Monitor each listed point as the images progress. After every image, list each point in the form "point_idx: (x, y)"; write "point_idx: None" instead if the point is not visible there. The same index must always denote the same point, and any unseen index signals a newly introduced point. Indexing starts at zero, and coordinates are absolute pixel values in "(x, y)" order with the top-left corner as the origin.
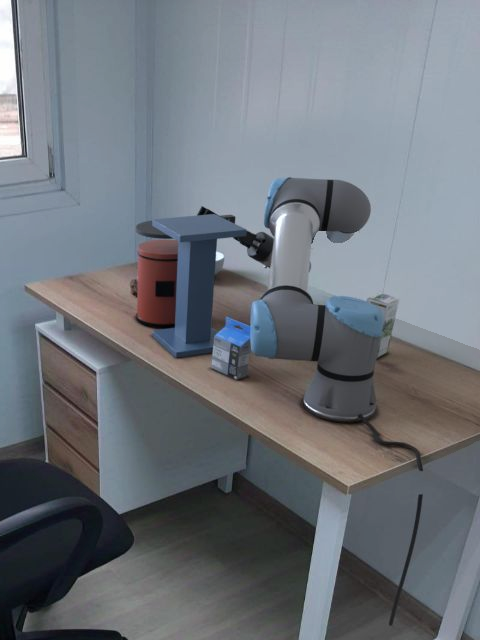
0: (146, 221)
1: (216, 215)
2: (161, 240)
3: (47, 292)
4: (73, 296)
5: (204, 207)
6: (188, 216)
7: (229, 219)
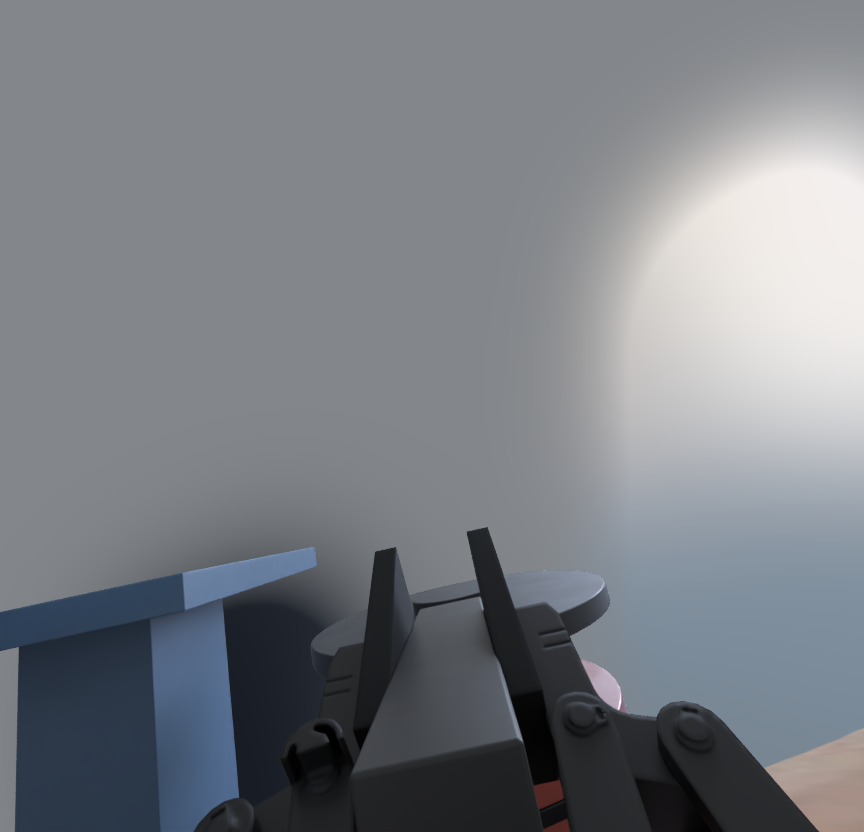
0: (573, 570)
1: (147, 580)
2: (603, 688)
3: (849, 752)
4: (841, 809)
5: (469, 540)
6: (257, 558)
7: (306, 730)
